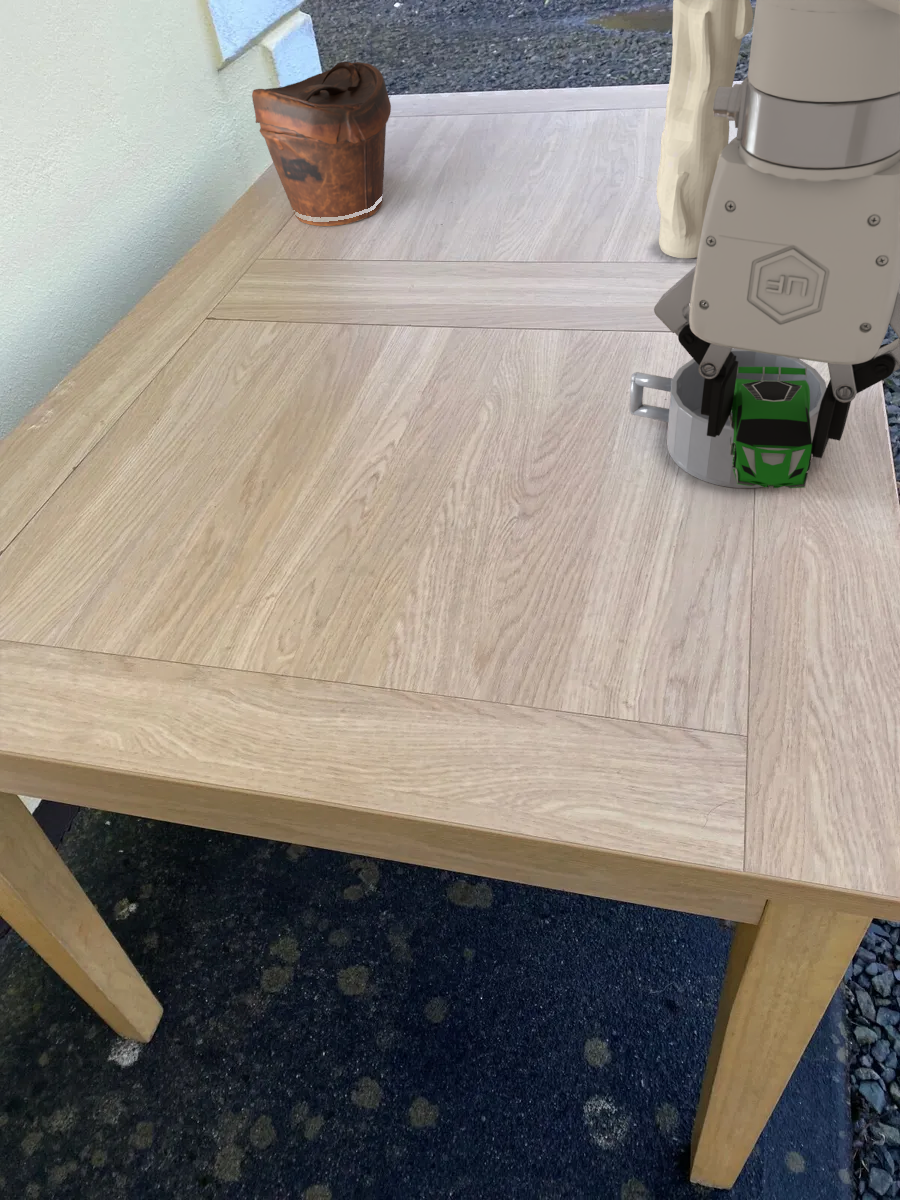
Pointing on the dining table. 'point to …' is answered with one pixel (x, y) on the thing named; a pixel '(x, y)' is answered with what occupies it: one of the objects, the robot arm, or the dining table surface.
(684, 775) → the dining table surface
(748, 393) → the toy car
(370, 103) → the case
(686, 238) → the dripping pillar candle
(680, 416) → the measuring cup
